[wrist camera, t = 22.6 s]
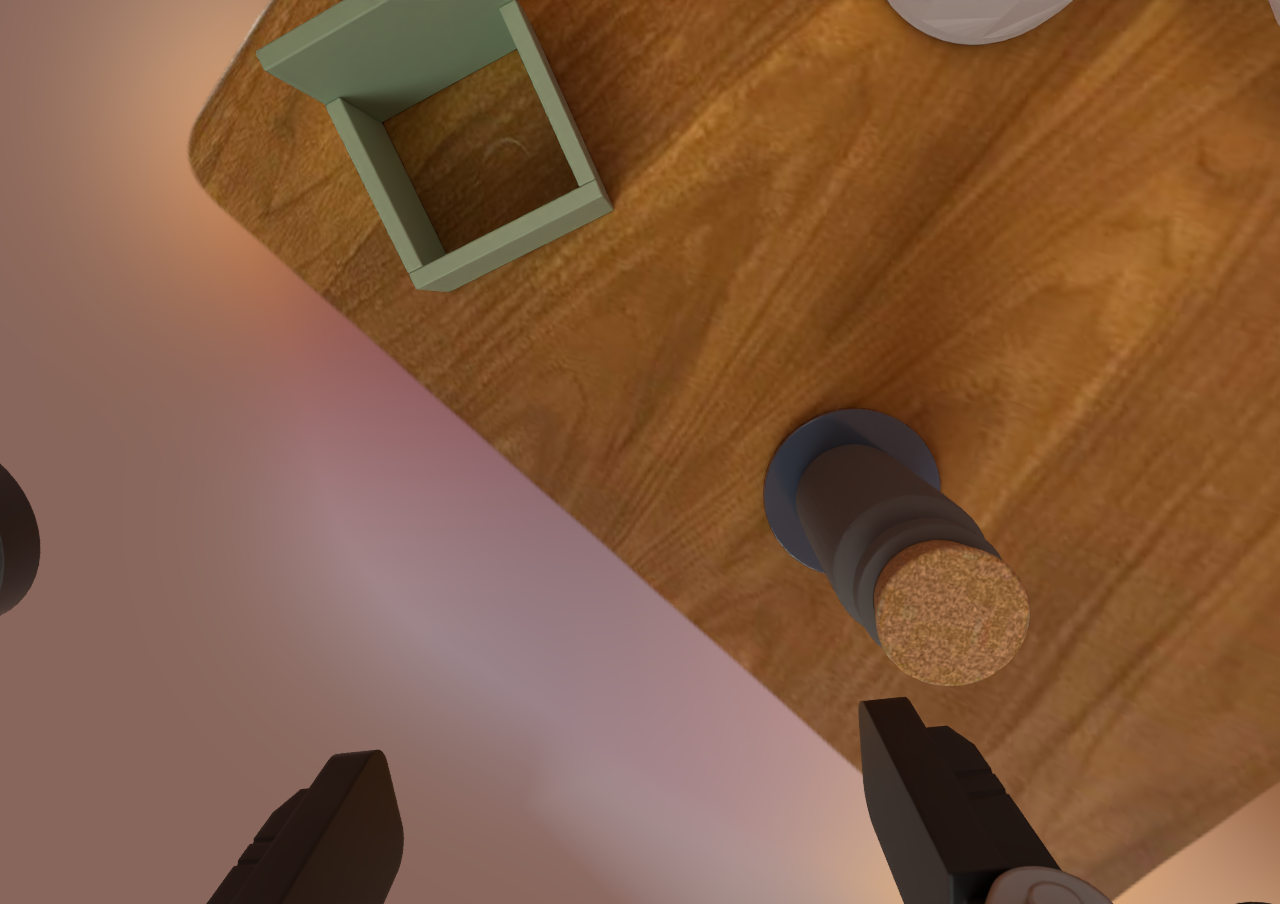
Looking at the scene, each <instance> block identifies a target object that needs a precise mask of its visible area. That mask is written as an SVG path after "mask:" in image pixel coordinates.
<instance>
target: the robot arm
mask: <svg viewBox="0 0 1280 904" xmlns="http://www.w3.org/2000/svg"><path fill="white" fill-rule="evenodd" d="M859 728H860V742H861V756H862V771H863V784H864V791H865V797H866V802H867V807H868V811H869V815H870V818H871V822H872V825H873V827H874V830H875V832H876V835H877V837H878V840H879V842H880V845H881V847H882V850H883V852H884V855H885V857H886V860H887V862H888V865H889V867H890V870H891V872H892V875H893V877H894V880H895V882H896V885H897V887H898V889H899V892H900V895H901V897H902V900H903V902H904V904H1113V903H1112V902H1111V901H1110V900H1109V899H1108V897H1106V896H1105V895H1104V894H1103V893H1102V892H1100V891H1099V890H1098V889H1097V888H1095V887H1094V886H1092V885H1091V884H1089V883H1088V882H1086V881H1084V880H1082V879H1080V878H1078V877H1076V876H1074V875H1071V874H1069V873H1067V872H1063V871H1062V870H1061V869H1060V867H1059V866H1058V865H1057V863H1056V862H1055V860H1054V859H1053V857H1052V856H1051V854H1050V853H1049V852H1048V850H1047V849H1046V847H1045V846H1044V844H1043V843H1042V841H1041V840H1040V839H1039V837H1038V836H1037V834H1036V833H1035V831H1034V830H1033V828H1032V827H1031V826H1030V824H1029V823H1028V821H1027V820H1026V818H1025V817H1024V815H1023V814H1022V813H1021V811H1020V810H1019V808H1018V807H1017V805H1016V804H1015V802H1014V801H1013V800H1012V798H1011V797H1010V795H1009V794H1006V791H1005V788H1004V787H1003V785H1002V784H1001V782H1000V781H999V779H998V778H997V777H996V775H995V774H992V771H991V768H990V766H989V765H988V764H987V762H986V761H985V759H984V758H983V756H982V755H981V753H980V752H979V751H978V749H977V748H976V746H975V745H974V744H973V743H971V742H970V741H968V740H967V739H966V738H964V737H963V736H961V735H960V734H958V733H957V732H955V731H954V730H953V729H951V728H950V727H948V726H938V727H928V728H926V727H925V725H924V723H923V722H922V720H921V718H920V717H919V715H918V714H917V712H916V710H915V709H914V707H913V705H912V704H911V702H910V701H909V699H908V698H907V697H898V698H888V699H878V700H869V701H860V703H859ZM403 843H404V833H403V826H402V821H401V817H400V813H399V809H398V805H397V800H396V796H395V792H394V788H393V784H392V780H391V775H390V771H389V768H388V763H387V760H386V757H385V755H384V754H383V752H382V751H380V750H371V751H361V752H351V753H341V754H335V755H333V756H332V757H331V758H330V759H329V760H328V762H327V763H326V764H325V766H324V767H323V769H322V770H321V772H320V773H319V775H318V776H317V777H316V779H315V780H314V782H313V783H312V785H311V786H310V788H308V789H301V790H299V791H298V792H297V793H296V794H295V795H294V796H292V797H291V798H290V799H289V800H287V801H286V802H285V803H284V804H283V805H282V806H280V807H279V808H278V809H277V810H275V811H274V812H273V813H272V814H271V816H270V817H269V819H268V820H267V821H266V823H265V824H264V825H263V827H262V828H261V829H260V831H259V832H258V834H257V835H256V836H255V838H254V843H253V844H250V845H249V846H248V847H247V849H246V850H245V851H244V853H243V854H242V856H241V857H240V858H239V860H238V865H237V866H234V867H233V868H232V870H231V871H230V872H229V874H228V875H227V876H226V878H225V879H224V880H223V882H222V883H221V885H220V886H219V887H218V889H217V890H216V891H215V893H214V894H213V896H212V897H211V898H210V900H209V901H208V902H207V904H384V902H385V899H386V897H387V895H388V892H389V890H390V888H391V885H392V883H393V881H394V879H395V877H396V874H397V872H398V870H399V867H400V864H401V859H402V854H403V845H404V844H403ZM1237 904H1270V903H1263V902H1244V903H1237Z"/></svg>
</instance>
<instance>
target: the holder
mask: <svg viewBox="0 0 1280 904" xmlns="http://www.w3.org/2000/svg"><path fill="white" fill-rule="evenodd" d="M515 49H517V50H518V52H519V54H520V57H521V59H522V61H523V63H524V65H525V68H526V70H527V72H528V74H529V76H530V79H531V81H532V83H533V85H534V87H535V90H536V92H537V94H538V96H539V99H540V101H541V103H542V105H543V107H544V110H545V112H546V114H547V116H548V118H549V121H550V123H551V125H552V127H553V129H554V132H555V134H556V136H557V138H558V141H559V143H560V145H561V147H562V149H563V152H564V154H565V156H566V158H567V160H568V163H569V165H570V167H571V169H572V172H573V174H574V176H575V178H576V180H577V183H578V185H579V186H580V187H579V188H577V189H575V190H573V191H571V192H569V193H567V194H565V195H563V196H561V197H559V198H557V199H555V200H553V201H551V202H549V203H547V204H545V205H543V206H541V207H539V208H537V209H535V210H533V211H531V212H529V213H527V214H525V215H523V216H521V217H519V218H517V219H516V220H514V221H512V222H510V223H508V224H506V225H504V226H502V227H500V228H498V229H496V230H494V231H492V232H490V233H488V234H486V235H484V236H482V237H480V238H478V239H476V240H474V241H472V242H470V243H468V244H466V245H464V246H462V247H460V248H458V249H456V250H454V251H452V252H450V253H448V254H446V253H445V251H444V249H443V247H442V245H441V243H440V240H439V238H438V236H437V234H436V232H435V230H434V228H433V226H432V224H431V222H430V220H429V218H428V216H427V214H426V212H425V210H424V208H423V206H422V204H421V201H420V199H419V197H418V195H417V193H416V191H415V189H414V187H413V185H412V183H411V181H410V179H409V177H408V175H407V173H406V171H405V169H404V167H403V164H402V162H401V160H400V158H399V156H398V154H397V152H396V150H395V148H394V146H393V144H392V142H391V140H390V138H389V136H388V134H387V132H386V130H385V128H384V125H383V124H382V122H383V121H385V120H387V119H389V118H391V117H393V116H394V115H396V114H398V113H400V112H402V111H404V110H405V109H407V108H409V107H411V106H413V105H415V104H416V103H418V102H420V101H422V100H424V99H426V98H427V97H429V96H431V95H433V94H435V93H437V92H438V91H440V90H442V89H444V88H446V87H448V86H449V85H451V84H453V83H455V82H457V81H459V80H460V79H462V78H464V77H466V76H468V75H470V74H471V73H473V72H475V71H477V70H479V69H480V68H482V67H484V66H486V65H488V64H490V63H491V62H493V61H495V60H497V59H499V58H501V57H502V56H504V55H506V54H508V53H510V52H512V51H513V50H515ZM256 54H257V56H258V58H259V60H260V62H261V64H262V66H263V68H264V70H265V71H266V72H268V73H270V74H272V75H274V76H275V77H277V78H279V79H281V80H282V81H284V82H286V83H288V84H290V85H291V86H293V87H295V88H297V89H298V90H300V91H302V92H304V93H306V94H307V95H309V96H311V97H313V98H314V99H316V100H318V101H320V102H322V103H323V104H325V105H326V109H327V111H328V113H329V115H330V117H331V119H332V121H333V123H334V125H335V127H336V129H337V131H338V133H339V135H340V137H341V139H342V141H343V143H344V145H345V147H346V149H347V151H348V153H349V155H350V157H351V159H352V161H353V163H354V165H355V167H356V169H357V171H358V173H359V175H360V177H361V179H362V181H363V183H364V185H365V187H366V189H367V191H368V193H369V195H370V197H371V199H372V201H373V203H374V205H375V207H376V209H377V211H378V213H379V215H380V217H381V219H382V221H383V223H384V225H385V227H386V229H387V231H388V233H389V235H390V237H391V239H392V241H393V243H394V245H395V247H396V249H397V251H398V253H399V256H400V258H401V260H402V262H403V264H404V266H405V268H406V270H407V272H408V273H410V274H409V276H410V278H411V280H412V282H413V284H414V286H415V288H416V289H420V290H432V291H444V292H450V291H452V290H454V289H456V288H458V287H460V286H462V285H464V284H466V283H468V282H470V281H472V280H474V279H476V278H478V277H480V276H482V275H484V274H486V273H488V272H490V271H492V270H494V269H496V268H498V267H501V266H503V265H505V264H507V263H509V262H511V261H513V260H515V259H517V258H519V257H521V256H523V255H525V254H527V253H529V252H531V251H533V250H535V249H537V248H539V247H541V246H543V245H545V244H547V243H549V242H551V241H553V240H555V239H557V238H559V237H561V236H563V235H565V234H567V233H569V232H571V231H573V230H575V229H577V228H579V227H581V226H583V225H585V224H587V223H589V222H591V221H593V220H595V219H597V218H599V217H601V216H603V215H605V214H607V213H609V212H611V211H613V210H614V208H613V206H612V203H611V201H610V199H609V197H608V195H607V192H606V190H605V188H604V186H603V183H602V181H601V179H600V177H599V174H598V172H597V170H596V168H595V165H594V163H593V161H592V159H591V156H590V154H589V152H588V150H587V147H586V145H585V143H584V141H583V139H582V136H581V134H580V132H579V130H578V127H577V125H576V123H575V121H574V118H573V116H572V114H571V112H570V109H569V107H568V105H567V103H566V101H565V98H564V96H563V94H562V92H561V89H560V87H559V85H558V83H557V80H556V78H555V76H554V74H553V71H552V69H551V67H550V65H549V62H548V60H547V58H546V56H545V54H544V51H543V49H542V47H541V45H540V42H539V40H538V38H537V36H536V33H535V31H534V29H533V27H532V25H531V22H530V21H529V19H528V17H527V15H526V14H525V12H524V10H523V8H522V7H521V5H520V3H519V1H518V0H343V1H341V2H339V3H338V4H336V5H334V6H332V7H331V8H329V9H327V10H326V11H324V12H322V13H320V14H319V15H317V16H315V17H313V18H312V19H310V20H308V21H307V22H305V23H303V24H301V25H300V26H298V27H296V28H295V29H293V30H291V31H289V32H288V33H286V34H284V35H283V36H281V37H279V38H277V39H276V40H274V41H272V42H270V43H269V44H267V45H265V46H264V47H262V48H260V49H258V50H257V51H256Z"/></svg>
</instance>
